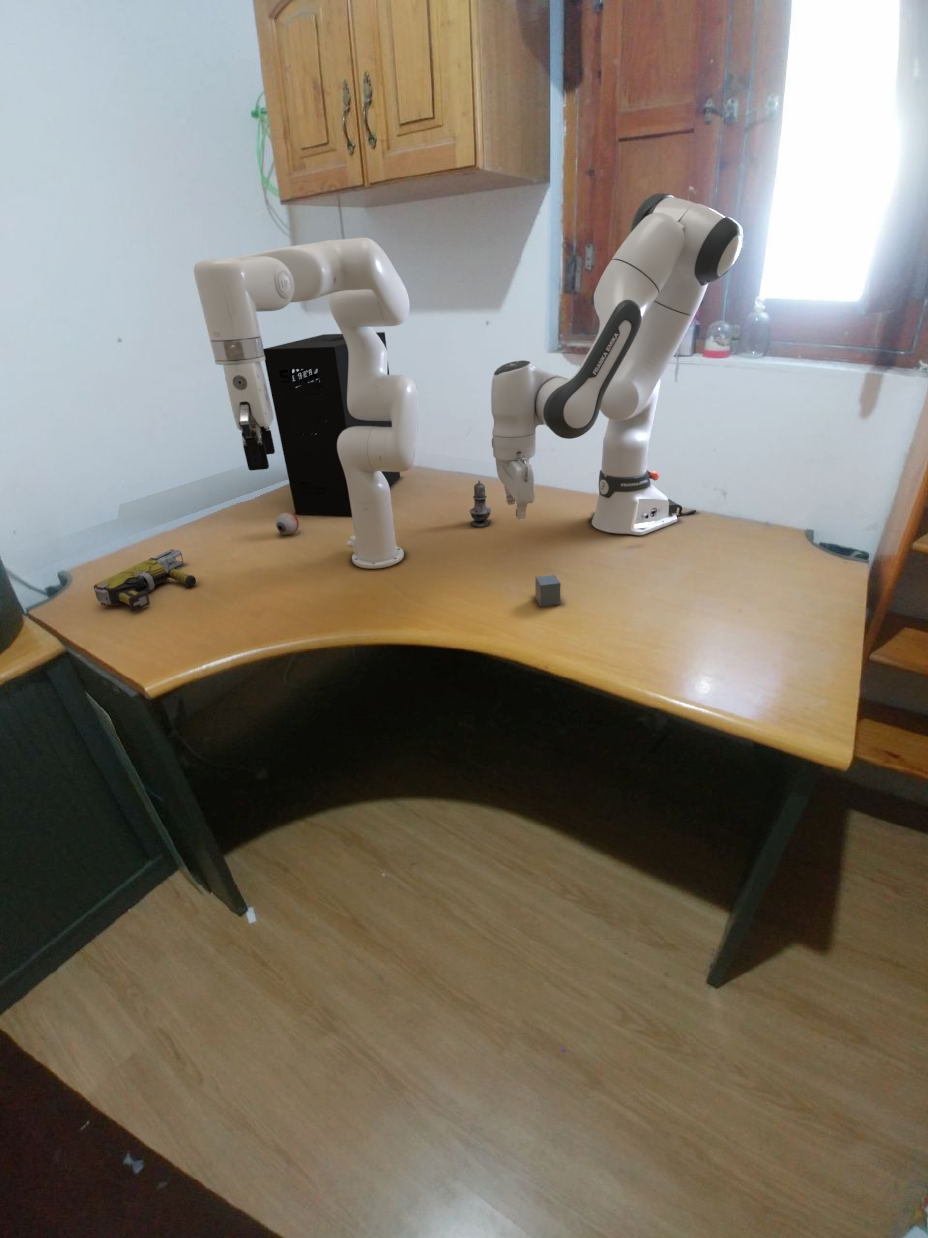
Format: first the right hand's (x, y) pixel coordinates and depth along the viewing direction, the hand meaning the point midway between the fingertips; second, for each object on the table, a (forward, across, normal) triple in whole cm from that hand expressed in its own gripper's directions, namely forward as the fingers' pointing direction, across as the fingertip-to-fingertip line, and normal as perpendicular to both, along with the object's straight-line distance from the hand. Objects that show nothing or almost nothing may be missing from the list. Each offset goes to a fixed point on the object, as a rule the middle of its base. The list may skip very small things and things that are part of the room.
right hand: (515, 510), depth 131 cm
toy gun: (+13, +12, +82) cm, 83 cm away
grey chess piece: (+14, +31, +3) cm, 34 cm away
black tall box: (+14, +68, +38) cm, 79 cm away
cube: (+14, -16, -3) cm, 22 cm away
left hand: (-20, -17, +47) cm, 54 cm away
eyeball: (+13, +38, +55) cm, 68 cm away
